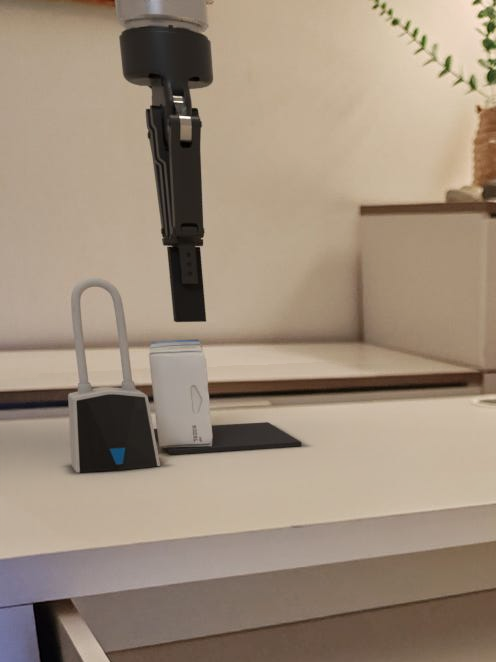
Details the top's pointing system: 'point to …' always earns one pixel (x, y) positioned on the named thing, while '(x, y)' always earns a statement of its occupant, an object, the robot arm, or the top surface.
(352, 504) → the top surface
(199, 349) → the ink box
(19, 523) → the top surface
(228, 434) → the mat
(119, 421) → the padlock
